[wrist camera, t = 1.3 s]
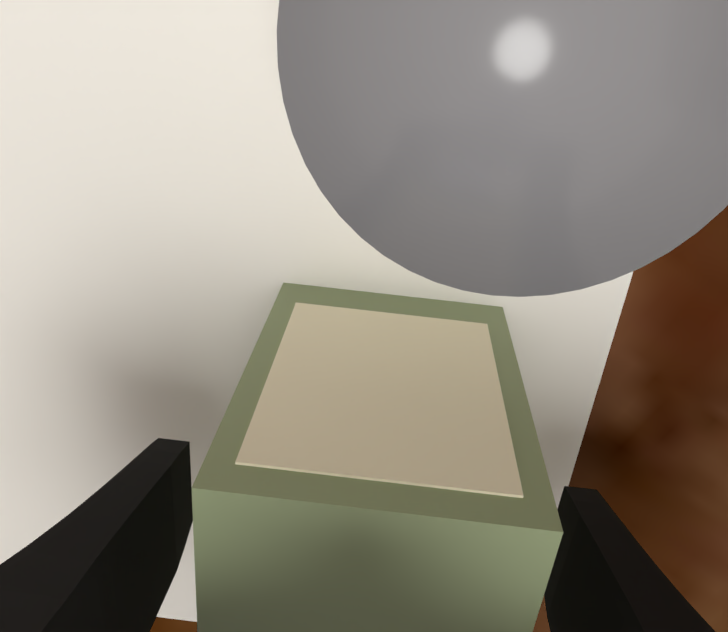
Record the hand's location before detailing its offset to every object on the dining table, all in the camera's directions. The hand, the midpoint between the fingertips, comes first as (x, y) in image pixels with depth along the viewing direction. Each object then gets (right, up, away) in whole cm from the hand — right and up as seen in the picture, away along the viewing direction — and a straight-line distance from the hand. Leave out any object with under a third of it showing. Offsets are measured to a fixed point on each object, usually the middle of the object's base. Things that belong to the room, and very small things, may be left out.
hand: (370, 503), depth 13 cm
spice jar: (+2, +8, -2) cm, 9 cm away
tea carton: (0, +1, +2) cm, 2 cm away
